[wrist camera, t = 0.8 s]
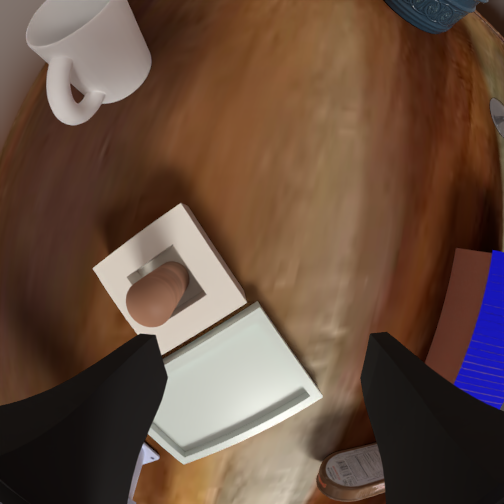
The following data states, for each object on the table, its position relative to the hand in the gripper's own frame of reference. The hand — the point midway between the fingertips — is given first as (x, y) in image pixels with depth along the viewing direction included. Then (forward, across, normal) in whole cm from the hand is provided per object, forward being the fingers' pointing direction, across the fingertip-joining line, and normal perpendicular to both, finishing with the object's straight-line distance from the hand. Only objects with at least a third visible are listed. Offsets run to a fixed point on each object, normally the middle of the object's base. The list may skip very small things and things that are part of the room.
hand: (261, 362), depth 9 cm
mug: (+18, +15, -16) cm, 29 cm away
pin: (+14, +8, +3) cm, 17 cm away
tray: (+13, +6, +16) cm, 21 cm away
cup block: (+15, +9, +4) cm, 18 cm away
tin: (+13, -12, +30) cm, 35 cm away
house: (+19, -26, +14) cm, 35 cm away
